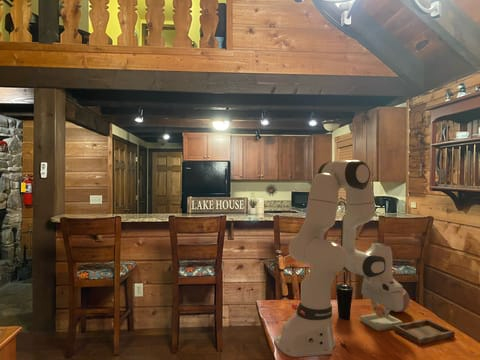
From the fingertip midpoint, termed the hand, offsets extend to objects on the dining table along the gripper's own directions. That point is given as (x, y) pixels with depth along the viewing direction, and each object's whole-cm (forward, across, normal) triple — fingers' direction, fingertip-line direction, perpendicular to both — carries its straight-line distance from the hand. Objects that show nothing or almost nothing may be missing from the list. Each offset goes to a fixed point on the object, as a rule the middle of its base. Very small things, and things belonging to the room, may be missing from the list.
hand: (380, 313), depth 135 cm
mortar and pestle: (+4, -8, +16) cm, 18 cm away
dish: (+4, +13, +9) cm, 16 cm away
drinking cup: (+4, -10, -11) cm, 15 cm away
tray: (+4, 0, 0) cm, 4 cm away
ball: (-1, 0, 0) cm, 1 cm away
